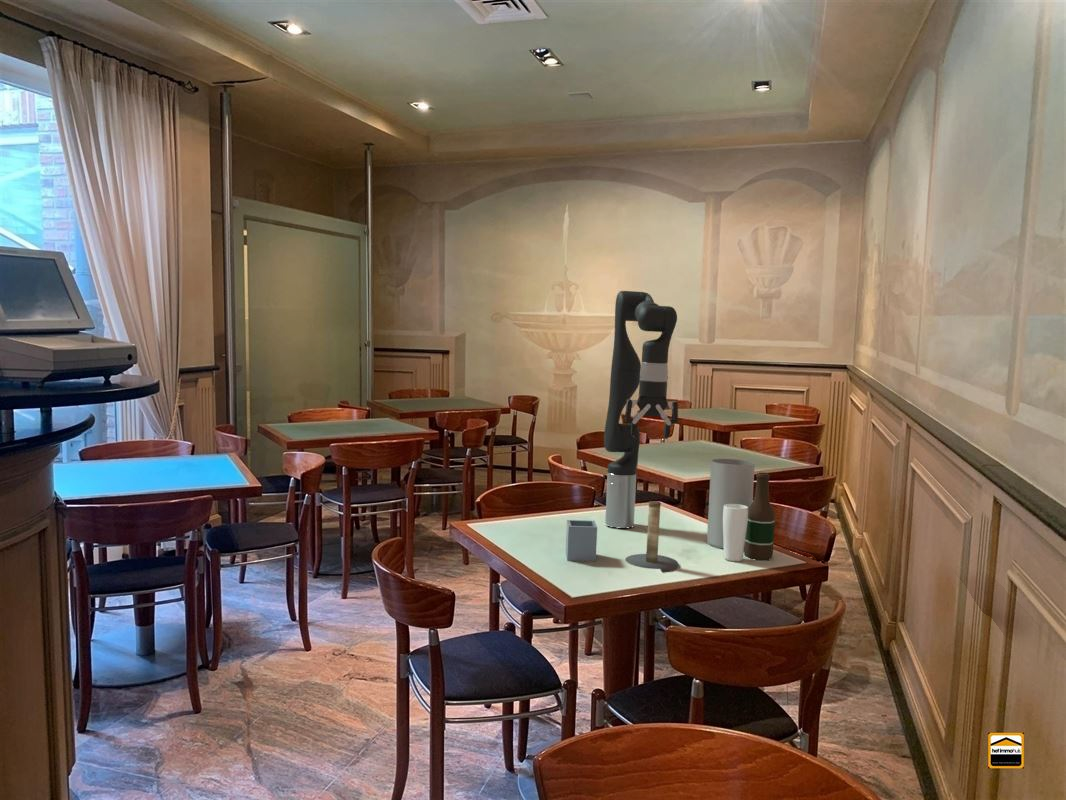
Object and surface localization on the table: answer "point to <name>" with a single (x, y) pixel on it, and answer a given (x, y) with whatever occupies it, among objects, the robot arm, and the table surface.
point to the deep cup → (581, 540)
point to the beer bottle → (760, 522)
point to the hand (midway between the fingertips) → (650, 437)
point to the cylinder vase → (727, 493)
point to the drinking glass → (734, 531)
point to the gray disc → (662, 563)
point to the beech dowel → (653, 531)
